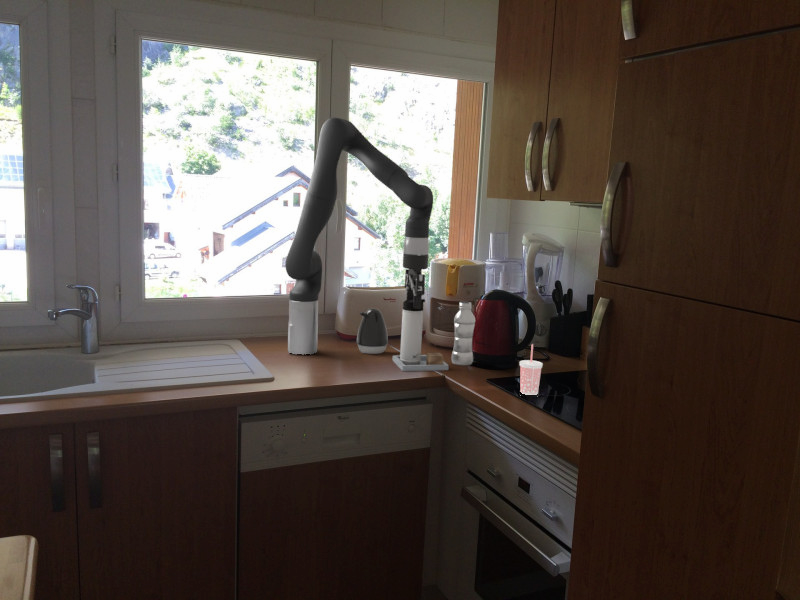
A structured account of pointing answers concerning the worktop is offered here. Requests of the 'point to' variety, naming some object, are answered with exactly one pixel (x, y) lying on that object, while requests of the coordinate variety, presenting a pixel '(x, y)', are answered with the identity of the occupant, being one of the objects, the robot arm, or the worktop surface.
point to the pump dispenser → (372, 332)
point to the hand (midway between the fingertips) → (413, 306)
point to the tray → (421, 366)
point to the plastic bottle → (463, 335)
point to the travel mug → (411, 333)
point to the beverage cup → (530, 375)
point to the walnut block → (434, 359)
